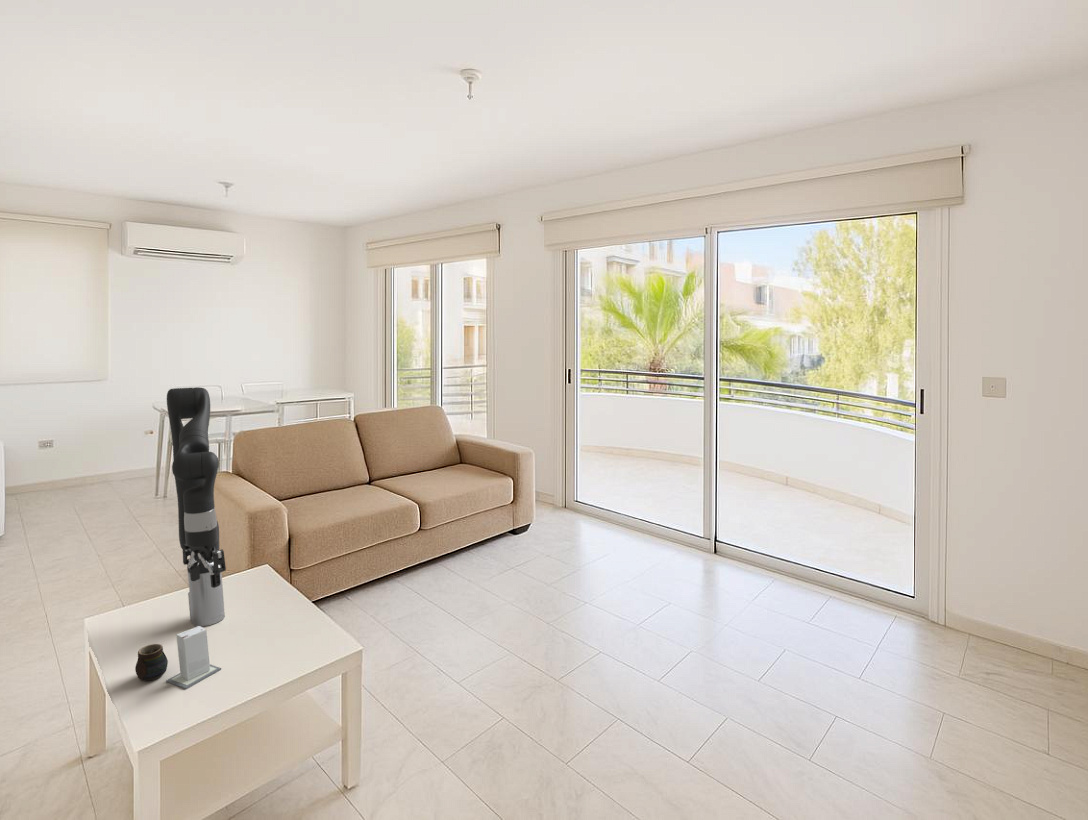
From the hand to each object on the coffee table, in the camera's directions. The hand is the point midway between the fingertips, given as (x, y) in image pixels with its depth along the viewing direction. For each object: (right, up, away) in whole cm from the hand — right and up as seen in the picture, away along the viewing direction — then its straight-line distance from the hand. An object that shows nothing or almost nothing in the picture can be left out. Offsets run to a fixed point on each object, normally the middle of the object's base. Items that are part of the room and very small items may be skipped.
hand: (205, 583), depth 161 cm
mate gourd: (-13, -25, -1) cm, 28 cm away
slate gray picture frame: (-2, -25, -1) cm, 25 cm away
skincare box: (-2, -24, -1) cm, 24 cm away
